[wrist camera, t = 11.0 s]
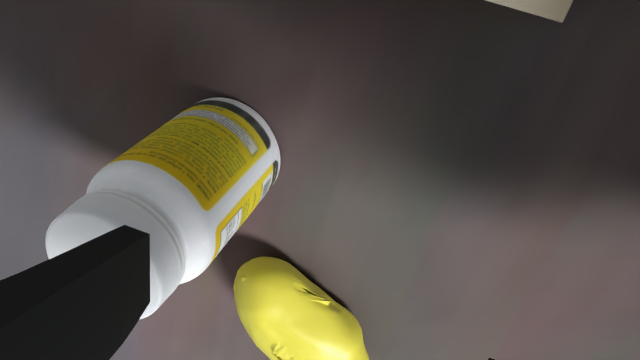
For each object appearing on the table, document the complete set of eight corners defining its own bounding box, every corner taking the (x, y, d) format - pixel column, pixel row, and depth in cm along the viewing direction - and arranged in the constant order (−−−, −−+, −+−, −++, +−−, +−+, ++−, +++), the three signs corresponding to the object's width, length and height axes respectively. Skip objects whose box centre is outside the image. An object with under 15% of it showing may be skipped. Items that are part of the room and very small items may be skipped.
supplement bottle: (168, 98, 22) (6, 198, 15) (269, 90, 20) (137, 199, 13) (200, 196, 24) (71, 324, 17) (293, 197, 22) (192, 339, 15)
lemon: (289, 223, 23) (252, 277, 20) (401, 344, 25) (384, 414, 21) (233, 260, 25) (192, 315, 22) (339, 370, 27) (314, 436, 24)
